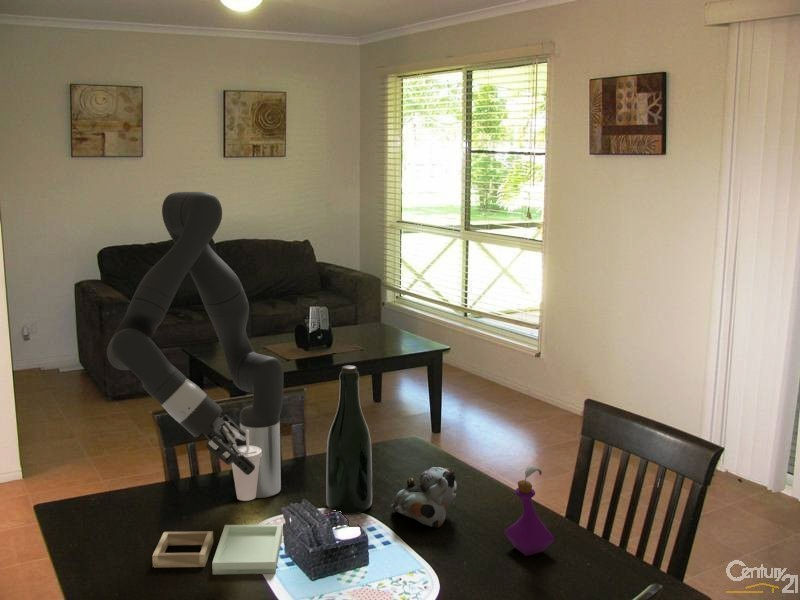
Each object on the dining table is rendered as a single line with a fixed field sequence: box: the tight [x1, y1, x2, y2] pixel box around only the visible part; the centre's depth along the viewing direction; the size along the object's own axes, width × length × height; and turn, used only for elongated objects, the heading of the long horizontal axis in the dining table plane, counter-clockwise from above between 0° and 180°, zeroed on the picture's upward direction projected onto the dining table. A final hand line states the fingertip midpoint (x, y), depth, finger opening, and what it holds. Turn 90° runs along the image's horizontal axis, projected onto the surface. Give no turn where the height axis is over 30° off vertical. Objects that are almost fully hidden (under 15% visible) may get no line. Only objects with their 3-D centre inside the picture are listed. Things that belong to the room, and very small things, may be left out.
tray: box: [211, 524, 283, 575], centre depth 167 cm, size 16×12×2 cm
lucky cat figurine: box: [390, 466, 457, 529], centre depth 184 cm, size 15×12×14 cm
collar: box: [152, 530, 214, 568], centre depth 167 cm, size 10×10×2 cm
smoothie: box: [231, 430, 262, 502], centre depth 164 cm, size 6×6×14 cm
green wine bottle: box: [325, 364, 373, 515], centre depth 187 cm, size 10×10×33 cm
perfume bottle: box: [503, 464, 556, 557], centre depth 169 cm, size 8×8×18 cm
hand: (254, 464), depth 164 cm, fingers closed on smoothie, 6 cm apart
